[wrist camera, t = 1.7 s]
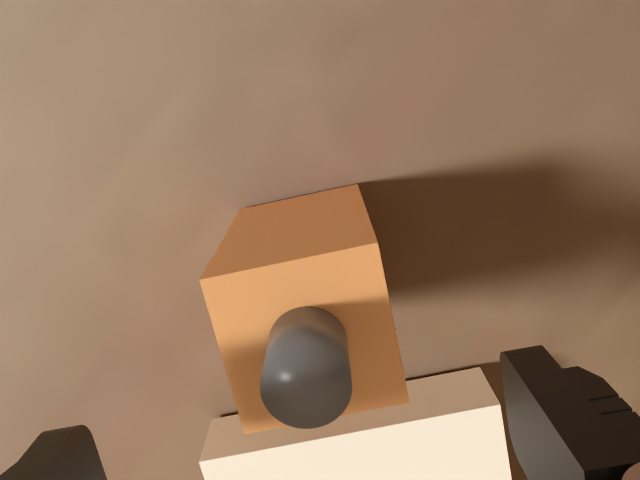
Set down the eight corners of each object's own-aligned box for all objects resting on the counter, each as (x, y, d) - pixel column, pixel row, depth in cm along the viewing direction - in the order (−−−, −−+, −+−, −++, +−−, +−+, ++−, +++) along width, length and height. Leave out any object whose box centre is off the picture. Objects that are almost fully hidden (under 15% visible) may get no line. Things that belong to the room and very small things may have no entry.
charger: (240, 209, 20) (178, 315, 11) (357, 183, 19) (388, 272, 11) (268, 317, 21) (232, 491, 12) (379, 294, 21) (424, 456, 12)
